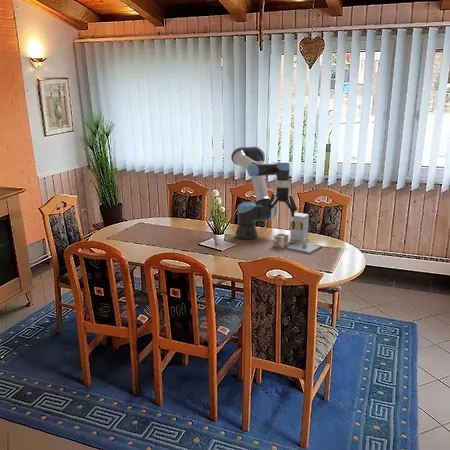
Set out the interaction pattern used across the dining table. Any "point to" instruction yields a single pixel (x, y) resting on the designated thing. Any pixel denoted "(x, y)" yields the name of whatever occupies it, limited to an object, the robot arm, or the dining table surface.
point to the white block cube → (281, 240)
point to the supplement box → (299, 227)
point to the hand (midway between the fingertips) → (281, 220)
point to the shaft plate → (304, 247)
